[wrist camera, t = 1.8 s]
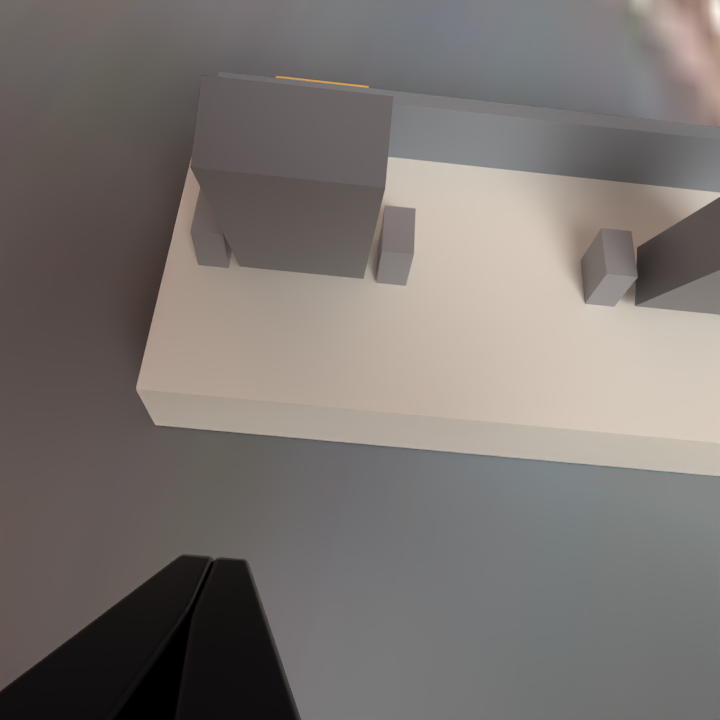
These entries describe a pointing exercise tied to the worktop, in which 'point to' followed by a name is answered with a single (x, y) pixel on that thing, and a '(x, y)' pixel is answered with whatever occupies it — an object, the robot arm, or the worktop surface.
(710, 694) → the worktop surface
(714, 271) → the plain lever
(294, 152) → the grey rectangular carton
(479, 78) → the worktop surface
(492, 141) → the switch panel
